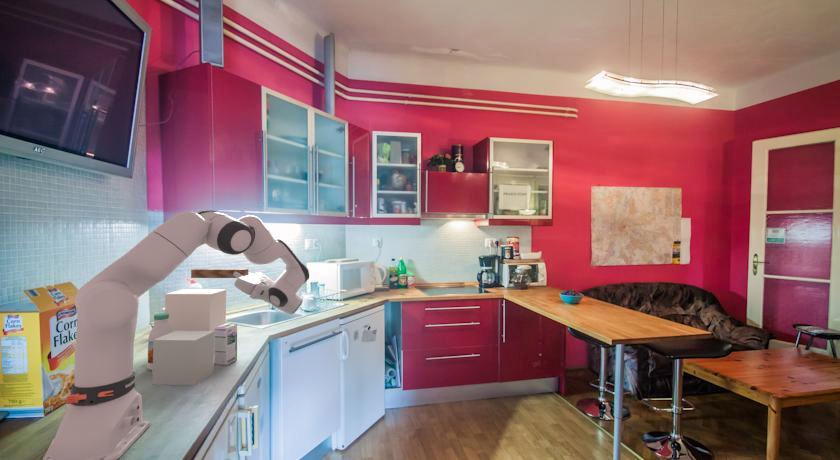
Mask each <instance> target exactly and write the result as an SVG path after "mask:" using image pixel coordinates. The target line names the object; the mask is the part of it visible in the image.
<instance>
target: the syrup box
mask: <svg viewBox="0 0 840 460" xmlns="http://www.w3.org/2000/svg"><path fill="white" fill-rule="evenodd" d="M237 360H238V324H236V323H226V324H224V325H221V326H218V327H215V328H214V365H221V366H222V365H223V366H228V365H229V364H231V363H233V362H235V361H237Z"/></svg>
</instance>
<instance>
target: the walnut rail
mask: <svg viewBox="0 0 840 460" xmlns="http://www.w3.org/2000/svg"><path fill="white" fill-rule="evenodd" d="M190 271H191V272H190V275H191V276H190V279H237V278H236V277H235V276H233V273H234V272H236V271H237V272H239V273H240V274H241V275H243V276H246V275H248V272H249V268H193V269H191V270H190Z"/></svg>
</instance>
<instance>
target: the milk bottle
mask: <svg viewBox="0 0 840 460" xmlns="http://www.w3.org/2000/svg"><path fill="white" fill-rule="evenodd" d="M168 319H169V314H168V313H165V312H163V313H156V314H154V315H153V321H154V323H153V327H152V329H151V330H150V332H149V335H148V339H147V340H148V341H147V342H148V343H147V370H148V371H152V372H153V340H154V339H157V338H159V337H162V336H164V335H166V334H169V333H171V332H173V331H172V329H171V327H170V325H169V323H168Z"/></svg>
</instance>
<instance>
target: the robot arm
mask: <svg viewBox="0 0 840 460" xmlns="http://www.w3.org/2000/svg"><path fill="white" fill-rule="evenodd" d="M203 245H207V246H208V247H210V248H212V249H214V250H217V251H219V252H222V253H224V254H227V255H232V256H236V255H241V254H243V255H244V256H245V258H246V259H247V260H248V261H249V262H250V263H252V264H255V265H260V266H261V265H268V264H270V263H273V262H275V261H277V260H279V259H280V260H281V261H282V262H283V263H284V264H285V268H284V270H283V271H282V272H281V274H280V275H279V276H278V277H277V278H276V279H275V280H273V279H271V278H270V277H269V276H267V275H265V274H264V273H262V272H260V271H258V272H254V273H251V272H249V271H248V275H246V276H243V275H241V274H240V273H239V272H237V271H236V272H234V273H233V276H235V277H236V278H235V279H236V280H235V281H234V284H233V285H234V286H235V288H236V289H238V290H239V291H241V292H242V293H244V294H246V295H249V298H251V299H252V300H260V301H264V302H265V303H268V304H271V305H272V306H273V307H274V308H276V309H277V310H280V311H281V312H284V313H285V314H287V315H288V314H289V315H294V314H295V313H296V312H297V310H298V309H299V308H300V307H301V305H302V304H303V301H304V300H303V299H302V297H300V296H299V295H298V294H297V293H298V291H299V290H300V289H301V287H302V286H303V285H304V284H305V283H306V282H308V280H309V278H310V271H309V269H308V267H307V266H306V265H305V264H304V263H302V262H301V261H300V259H299V258H298V257H297V255H296V254H295V253H294V252H293V250H292V249H291V248H290V247H289V245H288V244H286V243H285V242H284V241H283V240H281V239H279V238H274V237H273V235H272V234H271V232H270V230H269V229H268V227H267V226H266V224H265V223H264V222H263V221H262V220H261V219H260V218H259V217H258V216H255V215H249V214H248V215H245V216H241V217H240V218H238V219H236V218H234V217H232V216H230V215H228V214H225V213H222V212H218V211H217V210H211V209H209V210H208V209H204V210H200V211H197V212H194V211H188V210H185V211H182V212H178V213H177V214H175V215H174V216H172V217H171V218H169V219H167V220H165V221H164V222H163V223H161V224H159V226H157V227H156V228H155V229H153V230H152V231H150V233H148V235H146V236H145V237H143V238H142V239H141V240H140V241H139V242H138V243H137V244H136V245H135V246H133V247H132V248H131V249H130V250H128V251H127V252H126V253H124V254H123V255H122V256H121V257H119V258H118V259H117V260H115V261H114V262H112V263H111V264H109V265H108V266H107V267H106V268H104V269H103V270H101V271H100V272H99V273H97V274H96V275H95V276H93V277H92V278H91V279H89V281H87V282H86V283H84V284H83V285H82V286H80V288H79V289H78V290H77V292H76V294H75V296H74V306H75V309H76V315H77V319H76V320H77V322H76V333H75V334H76V335H75V348H74V371H73V372H74V374H73V377H74V378H73V379H74V380H73V383H72V384H71V388H70V392H69V394H68V395H66V399H65V403H66V408H65V410H64V413H63V416H62V418H61V421H60V424H59V425H58V427H57V430H56V432H55V433H56V434H55V436H54V438H53V439H52V441H51V442H50V445H49V446H48V448H47V450H46V452H45V454H44V455H43V458H42V460H118V459H119V458H121V457H122V455H124V454H125V453H126V451H127V450H128V449H129V448H130V447H131V446H132V445H133V444H134V443H135V442H136V441H137V440H138V439H139V438H140V437H141V435H143V433H144V432H145V431H146V430H148V429H149V427H150V426H151V424H150V421H149V420H146V419H143V418H144V417H143V400H142V399H143V398H142V394H140V393H139V392H138V391H137V390H136V389H135V387H136V373H135V371H134V348H135V347H134V345H135V337H136V336H135V335H136V332H137V331H136V329H137V323H138V313H139V305H140V303H139V298H140V297H141V296H142V295H144V294H145V293H147V292H148V291H149V290H150V289H152V288H153V287H155V286H156V285H157V284H159V283H160V282H162V281H164V280H166V278H168V277H169V276H170V275H172V273H173V272H174V271H175V270H176V269H177V268H178V267H179V266H181V264H182V263H183V262H185V260H187V259H188V257H190V256H191V254H193V252H195V250H196V249H197V248H199V247H201V246H203Z"/></svg>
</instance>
